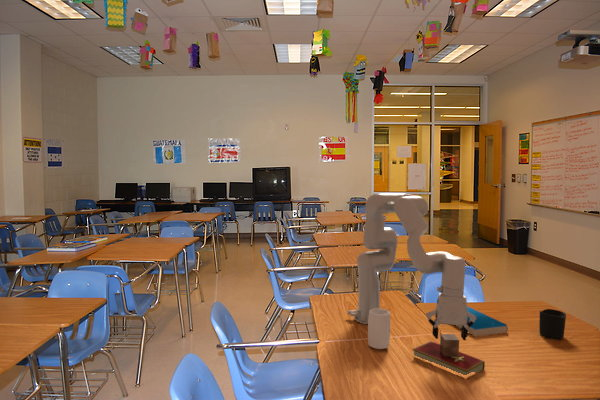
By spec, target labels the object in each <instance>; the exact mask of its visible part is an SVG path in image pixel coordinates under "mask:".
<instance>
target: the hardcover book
mask: <svg viewBox="0 0 600 400" xmlns="http://www.w3.org/2000/svg"><path fill="white" fill-rule="evenodd" d="M412 351H413V356H414V355H415V356H417V357H420V358H422V359H425V360H428V361H430V362H434V363H436V364H439V365H441V366H444V367H446V368H449V369H451V370H453V371H456V372H458V373H461V374H463V375H467V374H469V373H471V372H475V373H476V374H478V373H479V372H481V371H485V368H486V367H485V366H486V365H485V360H482V359H480V358H477V357H474V356H472V355H469V354H466V353H463V352H461V351H459V357H448V356H443V354H442V353H441V351H440V343H437V342H434V341H428V342H426V343H423V344H420V345H418V346H416V347H414V348H412Z"/></svg>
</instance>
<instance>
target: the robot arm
mask: <svg viewBox="0 0 600 400" xmlns="http://www.w3.org/2000/svg"><path fill="white" fill-rule="evenodd" d="M428 210H429V205H428V202H427V200H426V199H425V198H424V197H422V196H420V195H416V194H415V195H414V194H409V193H404V192H383V193H382V192H379V193H375V194H371V195H370V196H368V198H367V199H366V201H365V220H364V221H365V222H364V223H365V224H364V229H363V231H364V232H363V238H362V239H363V240H362V243H363V246H364V248H365V249H367V250H369V251H363V252H361V253H360V254H359V255H358V256H357V259H356V263H357V264H356V265H357V271H358V303H357V304H358V306H357V307H356V309H355V310H351V309H350V310H347V315H350V317H354V321H355V320H356V321H357V323H358V322H360V323H359V324H361V323H363V324H362V325H365V324H368V317H369V311H370V310H371V309H374V308H380V305H381V304H380V300H381V299H380V296H381V281H380V278H379V276H378V272H386V271H387V272H388V271H390V270H391V269H392V268H393V267H394V265H395V261H396V260H395V259H396V254H397V248H398V247H397V246H398V235H397V232H396V231H395V229H393V228H392V227H386V226H385V225H386V217H385V215H384V214H393V213H394V214H396V216H397V218H398V219H399V221H400V223H401V225H402V226H403V228H404V231H405V232H406V234H407V237H408V238H407V241H406V243H407V244H406V247H407V248H406V249H407V254H408V257H409V258H410V260H411V262H412V264H413V265H414V267H415V269H416V270H417V272H420V273H421V274H424V275H428V274H435V273H441V282H440V284H441V285H440V286H439V287H436V291H437V292H439V293H438V296H437V299H436V304H435V305H436V307H435V309H434V310H431V311H429V312H427V313H425V316H426V319H427V320H428V322H429V324H430V325H431V326H432V331H431V332H432V333H431V334H432V336H433V337H434V339H436V340H438V339H439V326H440V325H451V326H455V325H463V326H462V328H460V329H461V331H460V338H461V339H462V340H463V341H466V340H467V337H468V329H469V327H471V326H472V325H473V323H474V321H475V320H476V317H475V316H474V315H472V314H471V313H469V312H467V306H468V303H467V302H468V301H467V296H466V295H465V294H464V292H465V278H466V277H465V276H466V275H465V274H466V273H465V272H466V260H465V258H463V257H461V256H457V255H454V254H453V255H452V254H450V253H449V252H447V251H442V250H439V251H430V252H429V251H428V252H426V251H425V249H424V248H423V246H422V243H421V239H420V238H421V237H423V235H425V234H426V233H427V232H428V230H429V229H430V228H429V224H428V222H427V220H426V219H425V217H424V216H425V215H426V214H427V213H428V212H429V211H428ZM433 316H434V318H435V319H434V320H433V319H432V317H433ZM467 316H468V317H470V320H469V321H468V322H467ZM356 321H355V322H356Z"/></svg>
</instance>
